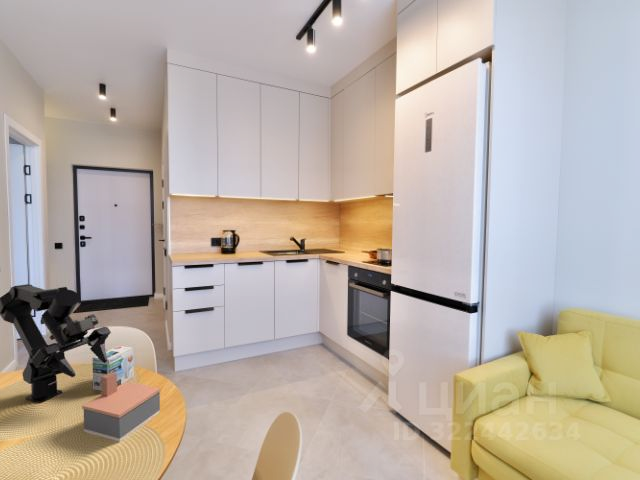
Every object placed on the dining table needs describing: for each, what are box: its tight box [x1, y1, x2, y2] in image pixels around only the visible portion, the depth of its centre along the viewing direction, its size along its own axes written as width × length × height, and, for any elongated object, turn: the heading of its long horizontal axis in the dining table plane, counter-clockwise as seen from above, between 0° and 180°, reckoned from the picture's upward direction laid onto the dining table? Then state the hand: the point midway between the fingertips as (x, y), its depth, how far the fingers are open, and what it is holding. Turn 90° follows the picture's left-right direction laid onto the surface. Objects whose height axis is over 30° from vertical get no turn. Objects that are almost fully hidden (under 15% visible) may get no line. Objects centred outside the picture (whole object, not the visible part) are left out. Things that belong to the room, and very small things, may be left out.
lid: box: [81, 372, 162, 418], centre depth 88 cm, size 12×13×6 cm
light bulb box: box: [91, 345, 135, 392], centre depth 109 cm, size 11×7×11 cm, turn 168°
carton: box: [83, 391, 161, 443], centre depth 88 cm, size 12×13×6 cm
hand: (90, 368), depth 91 cm, fingers open, 9 cm apart
